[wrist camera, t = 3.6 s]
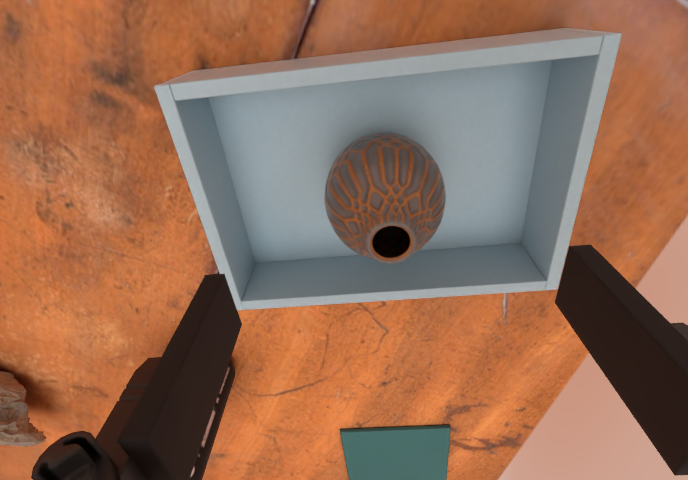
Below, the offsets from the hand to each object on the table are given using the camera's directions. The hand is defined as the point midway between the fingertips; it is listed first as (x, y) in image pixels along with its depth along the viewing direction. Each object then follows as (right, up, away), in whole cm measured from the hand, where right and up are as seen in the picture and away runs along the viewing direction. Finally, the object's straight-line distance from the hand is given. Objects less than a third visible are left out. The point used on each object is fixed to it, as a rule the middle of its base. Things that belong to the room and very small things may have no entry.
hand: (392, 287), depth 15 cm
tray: (0, +7, +11) cm, 13 cm away
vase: (0, +6, +10) cm, 12 cm away
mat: (+4, -24, +30) cm, 38 cm away
